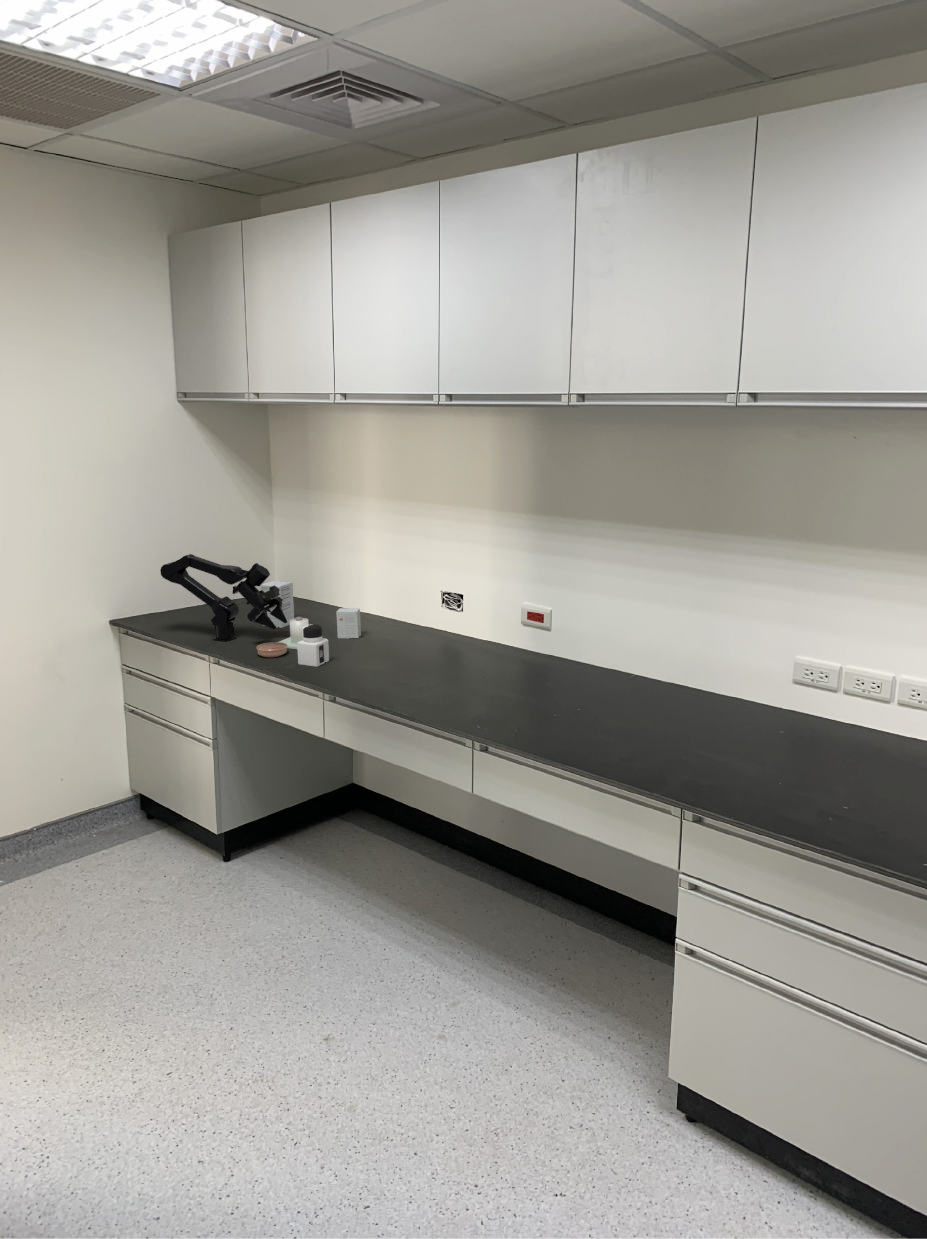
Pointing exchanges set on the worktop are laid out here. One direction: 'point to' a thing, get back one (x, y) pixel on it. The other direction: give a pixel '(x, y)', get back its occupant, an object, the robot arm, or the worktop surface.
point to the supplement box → (287, 598)
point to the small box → (348, 623)
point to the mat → (289, 644)
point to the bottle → (297, 629)
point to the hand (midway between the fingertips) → (281, 625)
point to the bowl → (272, 649)
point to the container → (312, 647)
